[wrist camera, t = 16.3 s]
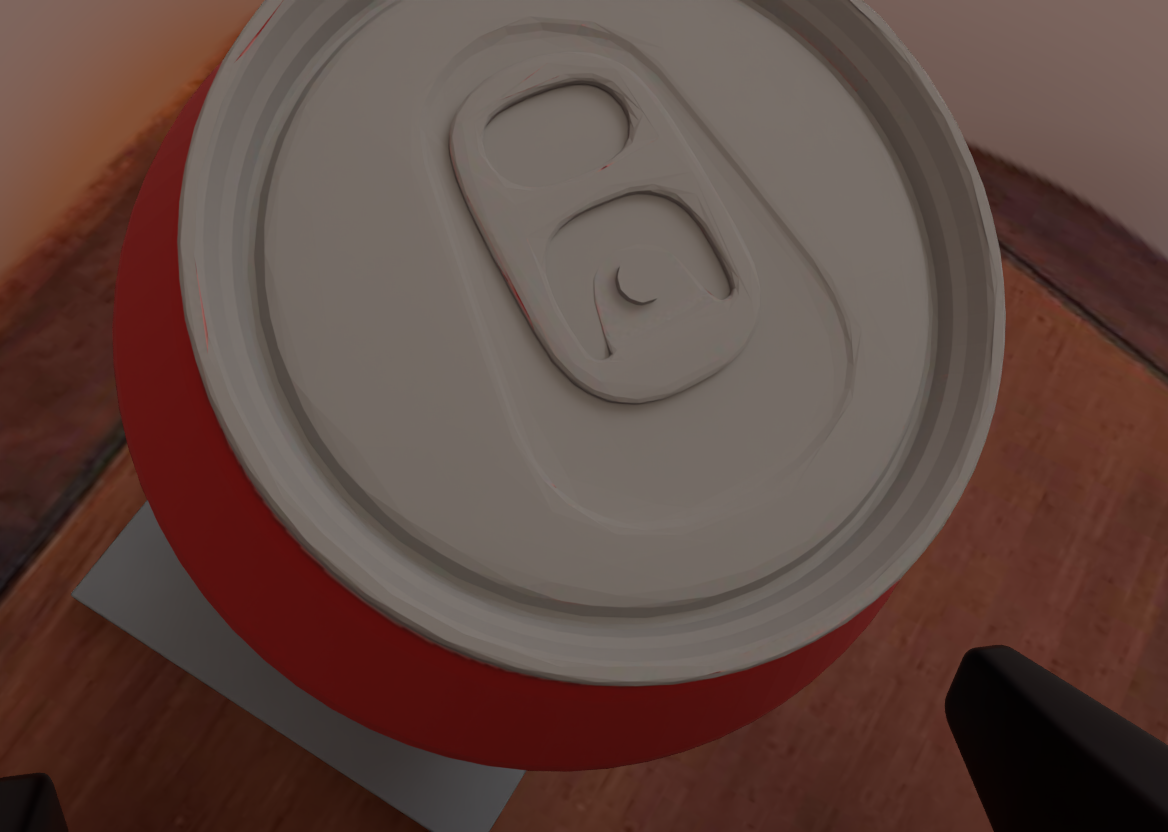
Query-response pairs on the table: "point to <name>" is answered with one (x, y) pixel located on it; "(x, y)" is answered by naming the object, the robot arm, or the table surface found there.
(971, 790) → the table surface
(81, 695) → the table surface
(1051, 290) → the table surface
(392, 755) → the grey mat
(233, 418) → the beverage can
